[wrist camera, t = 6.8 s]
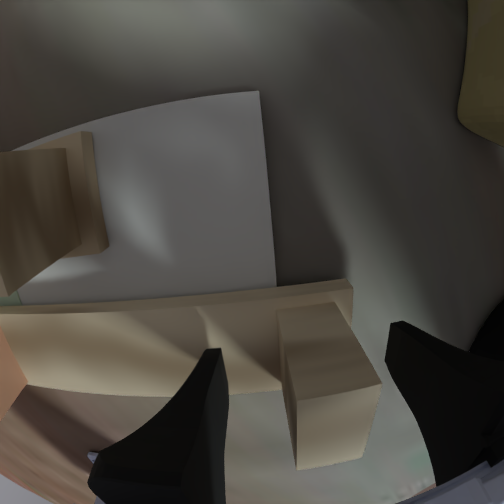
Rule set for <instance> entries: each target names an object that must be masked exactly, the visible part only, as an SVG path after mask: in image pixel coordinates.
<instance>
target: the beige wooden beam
mask: <svg viewBox="0 0 504 504" xmlns="http://www.w3.org/2000/svg"><path fill="white" fill-rule="evenodd" d="M352 307H353V287H352V286H351V284H350V283H349V282H348V281H347V279H346V278H345V279H338V280H330V281H322V282H314V283H306V284H298V285H290V286H281V287H273V288H264V289H255V290H245V291H236V292H226V293H215V294H205V295H193V296H182V297H170V298H157V299H144V300H130V301H114V302H97V303H78V304H56V305H27V306H0V326H1V329H2V331H3V333H4V335H5V338H6V340H7V342H8V344H9V346H10V348H11V350H12V352H13V354H14V356H15V358H16V360H17V362H18V364H19V366H20V368H21V370H22V372H23V373H24V375H25V377H26V379H27V380H28V383H27V384H29V385H34V386H40V387H46V388H53V389H60V390H67V391H75V392H85V393H95V394H107V395H123V396H148V397H173V396H174V395H175V394H176V392H177V391H178V390H179V389H180V387H181V386H182V385H183V383H184V382H185V381H186V379H187V378H188V376H189V375H190V373H191V372H192V370H193V369H194V367H195V366H196V364H197V362H198V361H199V359H200V357H201V356H202V354H203V352H204V351H205V350H206V349H209V348H221V349H222V355H223V360H224V365H225V370H226V375H227V379H228V386H229V395H232V394H245V393H255V392H265V391H274V390H282V391H283V396H284V402H285V408H286V413H287V419H288V425H289V430H290V436H291V442H292V448H293V453H294V459H295V465H296V471H298V470H304V469H310V468H316V467H321V466H326V465H331V464H336V463H341V462H345V461H349V460H353V459H357V458H361V457H362V456H363V453H364V450H365V446H366V443H367V440H368V437H369V433H370V430H371V426H372V423H373V419H374V416H375V412H376V408H377V404H378V400H379V396H380V392H381V387H382V382H381V380H380V378H379V377H378V375H377V373H376V371H375V370H374V368H373V366H372V364H371V363H370V361H369V359H368V357H367V356H366V354H365V352H364V350H363V349H362V347H361V345H360V343H359V342H358V340H357V338H356V337H355V335H354V333H353V332H352V330H351V322H352Z"/></svg>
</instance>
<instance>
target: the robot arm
mask: <svg viewBox="0 0 504 504" xmlns="http://www.w3.org/2000/svg"><path fill="white" fill-rule="evenodd" d="M385 362H386V365H387V367H388V370H389V372H390V374H391V377H392V379H393V380H394V382H395V384H396V386H397V387H398V389H399V391H400V392H401V394H402V396H403V397H404V399H405V401H406V402H407V404H408V406H409V408H410V409H411V411H412V413H413V415H414V417H415V418H416V421H417V423H418V425H419V428H420V430H421V433H422V435H423V438H424V441H425V444H426V447H427V450H428V453H429V456H430V460H431V464H432V467H433V471H434V476H435V481H436V486H437V487H435V488H433V489H431V490H429V491H426V492H424V493H422V494H419V495H417V496H414V497H412V498H409V499H407V500H404V501H401V502H399V503H396V504H504V361H499V360H494V359H490V358H486V357H482V356H479V355H476V354H473V353H470V352H467V351H464V350H462V349H459V348H457V347H455V346H452V345H450V344H448V343H446V342H444V341H442V340H440V339H438V338H436V337H434V336H432V335H430V334H428V333H426V332H424V331H423V330H421V329H419V328H417V327H415V326H413V325H411V324H409V323H407V322H405V321H399V322H394V323H391V324H390V331H389V337H388V343H387V349H386V355H385ZM228 409H229V386H228V379H227V375H226V370H225V365H224V360H223V355H222V349H221V348H209V349H206V350H205V351H204V352H203V354H202V356H201V357H200V359H199V361H198V362H197V364H196V366H195V367H194V369H193V370H192V372H191V373H190V375H189V376H188V378H187V379H186V381H185V382H184V383H183V385H182V386H181V387H180V389H179V390H178V391H177V392H176V394H175V395H174V396H173V397H172V399H171V400H170V401H169V402H168V403H167V404H166V405H165V406H164V407H163V408H162V409H161V410H160V411H159V412H158V413H157V414H156V415H155V416H154V417H153V418H151V419H150V420H149V421H148V422H147V423H145V424H144V425H143V426H142V427H140V428H139V429H138V430H136V431H135V432H133V433H132V434H130V435H129V436H127V437H126V438H124V439H122V440H121V441H119V442H117V443H115V444H113V445H111V446H109V447H107V448H105V449H103V450H101V451H99V453H94V452H88V455H87V456H88V458H89V459H90V460H91V462H92V463H93V467H92V470H91V473H90V476H89V479H88V482H87V483H88V486H89V488H90V489H91V490H92V491H93V493H94V494H95V495H96V500H95V503H94V504H226V498H225V474H224V449H225V438H226V429H227V419H228Z"/></svg>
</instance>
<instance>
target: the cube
mask: <svg viewBox="0 0 504 504" xmlns="http://www.w3.org/2000/svg"><path fill="white" fill-rule="evenodd" d="M27 383H28V380H27V379H26V377H25V375H24V373H23V372H22V370H21V368H20V366H19V364H18V362H17V360H16V358H15V356H14V354H13V352H12V350H11V348H10V346H9V344H8V342H7V340H6V338H5V335H4V333H3V331H2V329H1V326H0V422H1V420H2V419H3V417H4V416H5V414H6V413H7V411H8V410H9V408H10V407H11V405H12V404H13V402H14V401H15V399H16V398H17V397H18V395H19V394H20V392H21V391H22V390H23V388H24V387H25V385H26V384H27Z"/></svg>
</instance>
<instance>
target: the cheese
mask: <svg viewBox="0 0 504 504" xmlns="http://www.w3.org/2000/svg"><path fill="white" fill-rule="evenodd" d="M457 114H458V119H459V120H460V122H461V124H463V125H464V126H465V127H466V128H467V129H469V130H471V131H472V132H474V133H476V134H478V135H480V136H481V137H483V138H486V139H488V140H490V141H492V142H494V143H496V144H498V145H500V146H502V147H504V0H468V33H467V48H466V58H465V66H464V73H463V80H462V86H461V91H460V97H459V102H458V110H457Z"/></svg>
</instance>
